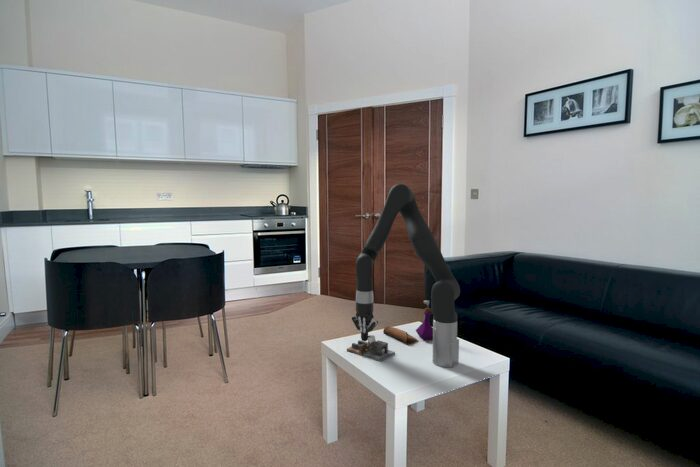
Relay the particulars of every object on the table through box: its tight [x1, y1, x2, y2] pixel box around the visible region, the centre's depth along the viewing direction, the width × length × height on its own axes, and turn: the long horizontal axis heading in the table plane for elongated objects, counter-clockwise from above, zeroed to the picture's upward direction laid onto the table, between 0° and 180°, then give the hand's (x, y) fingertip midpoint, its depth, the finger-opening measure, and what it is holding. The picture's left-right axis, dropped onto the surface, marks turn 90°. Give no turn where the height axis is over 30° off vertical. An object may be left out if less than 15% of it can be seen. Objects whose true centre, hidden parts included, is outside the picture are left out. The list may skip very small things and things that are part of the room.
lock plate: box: [346, 339, 396, 362], centre depth 166 cm, size 18×10×5 cm, turn 51°
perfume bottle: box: [415, 300, 433, 341], centre depth 182 cm, size 8×8×18 cm
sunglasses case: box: [383, 326, 420, 345], centre depth 184 cm, size 18×7×7 cm, turn 31°
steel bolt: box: [366, 334, 385, 354], centre depth 164 cm, size 8×3×6 cm, turn 51°
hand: (364, 340), depth 168 cm, fingers closed
